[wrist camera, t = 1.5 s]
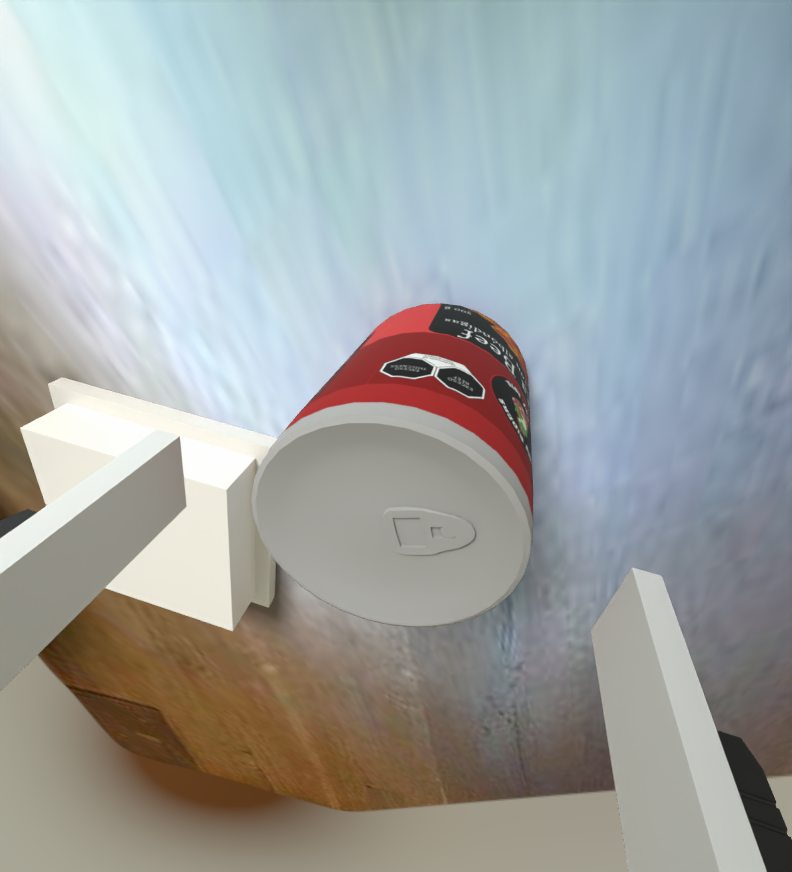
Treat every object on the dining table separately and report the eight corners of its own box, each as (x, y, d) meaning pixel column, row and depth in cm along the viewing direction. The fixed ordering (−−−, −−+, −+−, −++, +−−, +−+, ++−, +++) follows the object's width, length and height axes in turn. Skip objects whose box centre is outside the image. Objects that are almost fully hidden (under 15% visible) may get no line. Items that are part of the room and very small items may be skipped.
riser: (62, 377, 27) (-2, 407, 24) (280, 439, 26) (244, 480, 22) (104, 541, 35) (60, 581, 31) (274, 596, 33) (247, 644, 30)
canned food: (552, 419, 21) (575, 612, 12) (404, 465, 25) (334, 644, 15) (489, 264, 19) (458, 362, 9) (332, 340, 22) (196, 467, 13)
